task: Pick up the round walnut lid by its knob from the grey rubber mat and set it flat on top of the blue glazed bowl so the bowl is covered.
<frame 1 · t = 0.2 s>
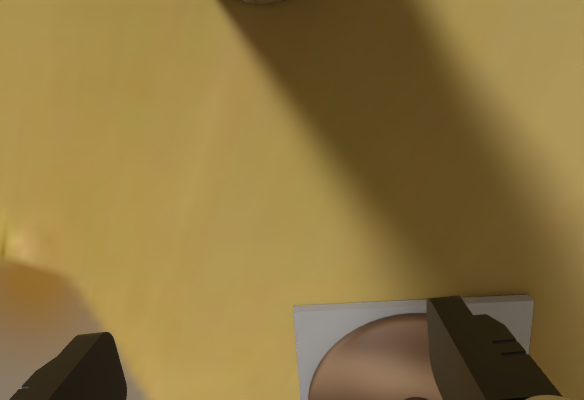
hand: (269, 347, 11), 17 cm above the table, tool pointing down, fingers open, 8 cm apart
mat: (408, 394, 32), on the table
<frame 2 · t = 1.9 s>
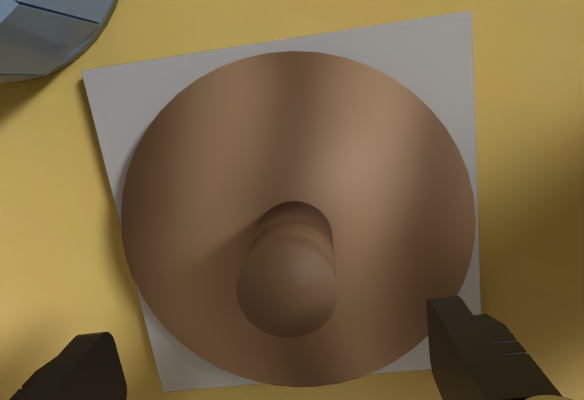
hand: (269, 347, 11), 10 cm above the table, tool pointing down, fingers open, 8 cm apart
lid: (295, 227, 20), point 1 cm above the table, touching mat
mat: (296, 222, 20), on the table
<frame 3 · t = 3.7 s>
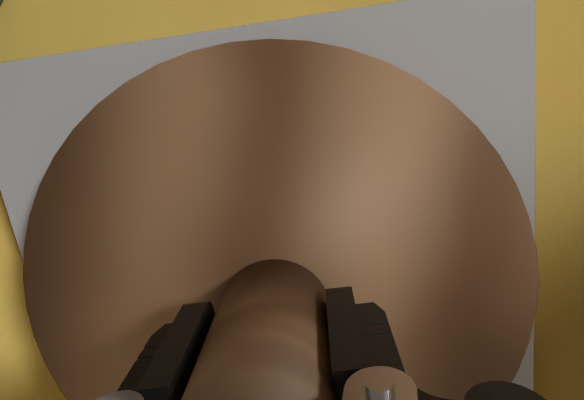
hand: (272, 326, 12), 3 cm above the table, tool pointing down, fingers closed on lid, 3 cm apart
lid: (278, 290, 14), point 1 cm above the table, touching gripper, mat
mat: (279, 279, 15), on the table
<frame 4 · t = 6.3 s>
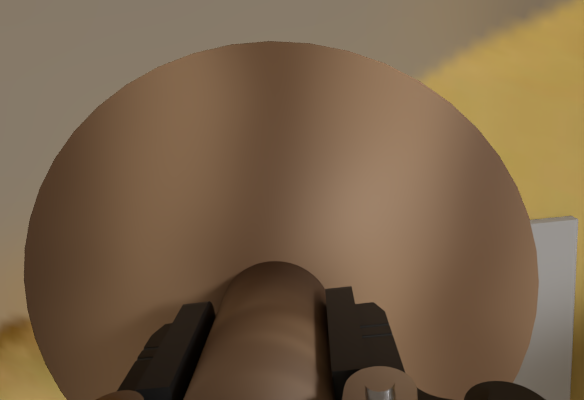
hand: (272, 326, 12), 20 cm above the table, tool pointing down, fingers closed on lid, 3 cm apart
lid: (279, 292, 14), point 17 cm above the table, touching gripper
mat: (458, 326, 33), on the table
when the fingers open (10 cm above the table, at t = 8.9 s): lid drops 1 cm, resting on bowl.
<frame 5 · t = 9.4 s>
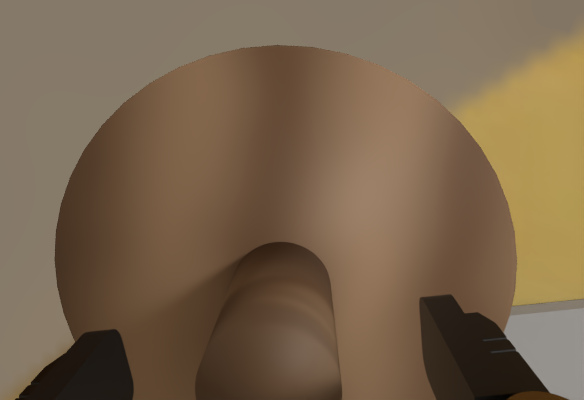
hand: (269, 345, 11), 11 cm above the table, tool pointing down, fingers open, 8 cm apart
lid: (283, 272, 15), point 6 cm above the table, touching bowl
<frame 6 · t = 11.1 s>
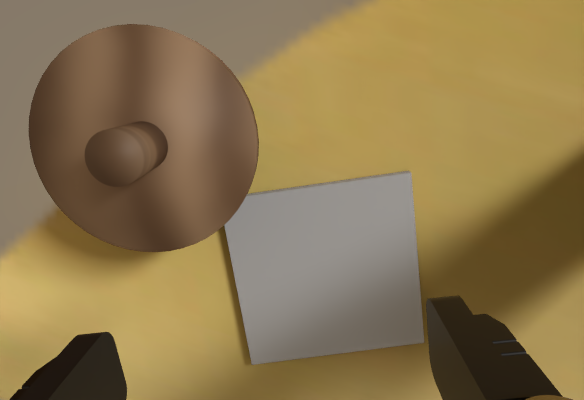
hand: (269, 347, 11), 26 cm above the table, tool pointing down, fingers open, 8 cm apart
lid: (149, 143, 30), point 6 cm above the table, touching bowl
mat: (325, 270, 39), on the table
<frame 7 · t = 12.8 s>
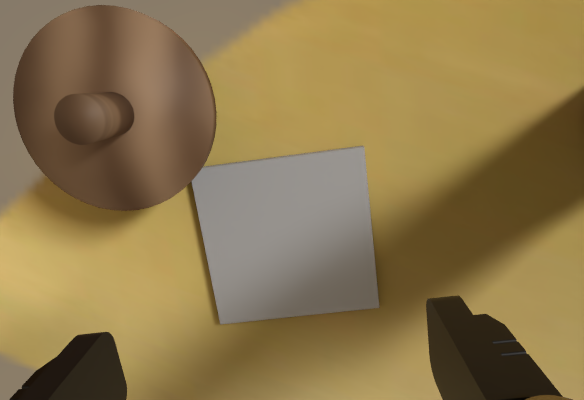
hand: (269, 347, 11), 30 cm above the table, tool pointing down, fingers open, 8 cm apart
lid: (119, 113, 34), point 6 cm above the table, touching bowl
mat: (288, 238, 42), on the table
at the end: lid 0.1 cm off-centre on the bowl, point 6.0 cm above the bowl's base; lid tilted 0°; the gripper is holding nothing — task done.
